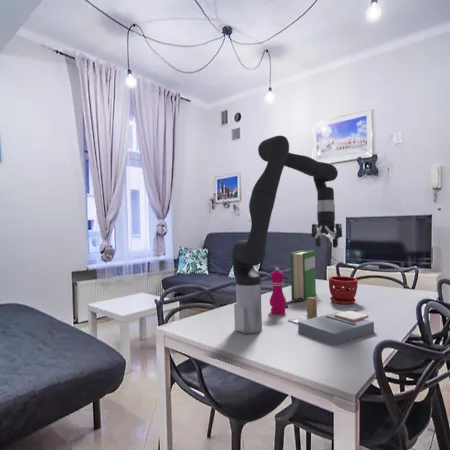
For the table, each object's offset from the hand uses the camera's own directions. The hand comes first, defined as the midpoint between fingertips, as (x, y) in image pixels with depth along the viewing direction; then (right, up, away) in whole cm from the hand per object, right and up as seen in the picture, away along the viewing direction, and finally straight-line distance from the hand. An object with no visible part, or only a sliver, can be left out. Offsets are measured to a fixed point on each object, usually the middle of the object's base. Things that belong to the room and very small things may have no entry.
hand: (326, 247), depth 141 cm
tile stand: (-6, -28, -28) cm, 40 cm away
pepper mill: (-22, -29, -2) cm, 36 cm away
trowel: (-12, -29, -13) cm, 34 cm away
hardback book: (-3, -29, +28) cm, 40 cm away
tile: (+2, -25, -23) cm, 34 cm away
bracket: (-13, -30, +15) cm, 35 cm away
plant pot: (+13, -28, +13) cm, 34 cm away
